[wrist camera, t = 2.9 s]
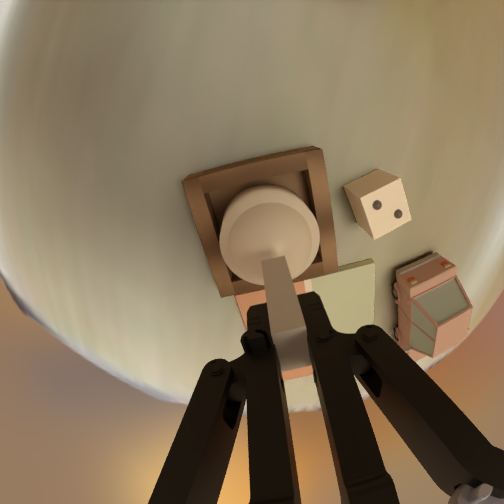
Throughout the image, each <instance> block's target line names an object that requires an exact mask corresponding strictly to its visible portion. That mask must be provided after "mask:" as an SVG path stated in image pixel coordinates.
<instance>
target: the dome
mask: <svg viewBox="0 0 504 504" xmlns="http://www.w3.org/2000/svg"><path fill="white" fill-rule="evenodd" d="M219 243H220V250H221V254H222V257H223V259H224V261H225V263H226V264H227V266H228V267H229V268H230V270H231V271H232V272H233V273H234V274H236V275H237V276H238V277H240V278H242V279H243V280H245V281H248V282H250V283H254V284H258V285H264V279H263V272H262V264H261V261H262V260H267V259H271V258H275V257H280V256H284V255H285V258H286V261H287V265H288V268H289V271H290V274H291V278H292V279H294V278H296V277H298V276H299V275H301V274H302V273H303V272H304V271H305V270H306V269H307V268H308V267H309V266H310V265H311V263H312V262H313V260H314V258H315V256H316V254H317V251H318V248H319V243H320V232H319V227H318V224H317V221H316V219H315V217H314V215H313V214H312V212H311V211H310V210H309V208H308V207H307V206H306V204H305V203H304V202H303V200H302V199H301V198H300V197H299V196H298V195H297V194H296V193H295V192H293V191H292V190H290V189H288V188H286V187H284V186H281V185H277V184H258V185H254V186H251V187H249V188H247V189H245V190H243V191H241V192H240V193H239V194H237V195H236V196H235V197H234V198H233V199H232V200H231V202H230V203H229V205H228V206H227V208H226V210H225V213H224V216H223V221H222V227H221V232H220V241H219Z"/></svg>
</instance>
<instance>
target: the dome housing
mask: <svg viewBox="0 0 504 504" xmlns="http://www.w3.org/2000/svg"><path fill="white" fill-rule="evenodd" d="M182 184H183V188H184V191H185V194H186V197H187V200H188V203H189V206H190V209H191V213H192V216H193V219H194V222H195V225H196V228H197V231H198V234H199V237H200V240H201V242H202V245H203V248H204V251H205V254H206V257H207V260H208V263H209V265H210V268H211V271H212V274H213V277H214V279H215V282H216V285H217V288H218V290H219V293H220V296H221V297H226V296H231V295H236V294H241V293H246V292H250V291H255V290H260V289H264V288H265V286H264V285H258V284H254V283H250V282H248V281H245V280H243V279H242V278H240V277H238V276H237V275H236V274H234V273H233V272H232V271H231V270H230V268H229V267H228V266H227V264H226V263H225V261H224V259H223V257H222V254H221V250H220V243H219V241H220V232H221V227H222V221H223V216H224V213H225V210H226V208H227V206H228V205H229V203H230V202H231V200H232V199H233V198H234V197H235V196H236V195H237V194H239V193H240V192H241V191H243V190H245V189H247V188H249V187H251V186H254V185H258V184H277V185H281V186H284V187H286V188H288V189H290V190H292V191H293V192H295V193H296V194H297V195H298V196H299V197H300V198H301V199H302V200H303V202H304V203H305V204H306V206H307V207H308V208H309V210H310V211H311V212H312V214H313V215H314V217H315V219H316V221H317V224H318V227H319V232H320V243H319V248H318V251H317V254H316V256H315V258H314V260H313V262H312V263H311V265H310V266H309V267H308V268H307V269H306V270H305V271H304V272H303V273H302V274H301V275H299V276H298V277H296V278H294V279H292V281H293V282H295V281H299V280H304V279H308V278H312V277H316V276H320V275H325V274H329V273H333V272H337V271H338V261H337V250H336V240H335V231H334V223H333V215H332V207H331V200H330V193H329V186H328V180H327V174H326V168H325V162H324V156H323V151H322V149H320V148H318V147H314V146H311V147H305V148H300V149H295V150H290V151H285V152H280V153H275V154H270V155H266V156H261V157H257V158H252V159H248V160H244V161H240V162H236V163H232V164H228V165H224V166H220V167H217V168H213V169H209V170H206V171H202V172H198V173H195V174H192V175H188V176H187V177H186V178H185V179H184V180H183V181H182Z"/></svg>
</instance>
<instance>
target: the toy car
mask: <svg viewBox="0 0 504 504" xmlns="http://www.w3.org/2000/svg"><path fill="white" fill-rule="evenodd" d="M396 281H397V282H396V283H394V285H393V286H392V293H393V296H394V298H395V303H397V304H398V327H397V328H395V329H394V335H395V338H396V343H397V344H398V345H399V346H400V347H401V348H402V349H403V350H404V351H405V352H406V353H407V354H408V355H409V356H410V357H411V358H412V359H413V360H414V361H417V360H419V359H421V358H423V357H425V356H429V357H432V358H433V357H435V356H437V355H439V354H441V353H442V352H444V351H446V350H448V349H449V348H451V347H453V346H454V345H456V344H458V343H459V342H461V341H463V340H464V339H465V338H466V335H467V331H468V327H469V323H470V318H471V314H472V309H473V306H472V304H471V302H470V300H469V298H468V296H467V294H466V292H465V291H464V289H463V287H462V285H461V283H460V281H459V279H458V278H457V276H456V265H454V264H453V263H451V262H450V261H448V260H446V259H445V258H443V257H442V256H441V255H440V254H438V253H436V252H435V253H433V254H431V255H429V256H427V257H424V258H422V259H420V260H418V261H416V262H413V263H411V264H409V265H407V266H404V267H402V268H400V269H397V271H396Z"/></svg>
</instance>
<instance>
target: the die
mask: <svg viewBox="0 0 504 504" xmlns="http://www.w3.org/2000/svg"><path fill="white" fill-rule="evenodd" d="M343 188H344V190H345V193H346V195H347V198H348V200H349V203H350V205H351V208H352V211H353V213H354V216H355V219H356V221H357V223H358V224H359V225H360V226H361V227H362V228H363V229H364V230H365V231H366V232H367V233H368V234H369V235H370V236H371V237H372V238H373V239H374V240H375V239H377V238H379V237H381V236H383V235H384V234H386V233H388V232H390V231H392V230H394V229H396V228H397V227H399V226H401V225H403V224H405V223H407V222H408V221H410V220H411V216H410V212H409V208H408V204H407V200H406V196H405V193H404V189H403V186H402V182H401V179H400V178H399V177H397V176H394V175H392V174H390V173H387V172H385V171H383V170H380V169H377V170H375V171H373V172H371V173H369V174H367V175H365V176H363V177H361V178H358V179H356V180H354V181H352V182H350V183H348V184H346V185H344V186H343Z"/></svg>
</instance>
